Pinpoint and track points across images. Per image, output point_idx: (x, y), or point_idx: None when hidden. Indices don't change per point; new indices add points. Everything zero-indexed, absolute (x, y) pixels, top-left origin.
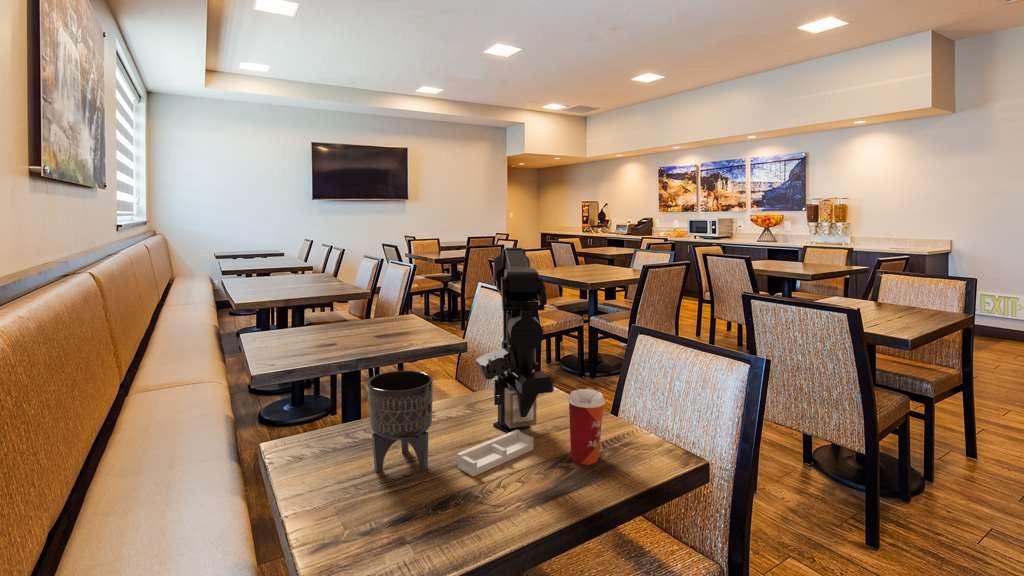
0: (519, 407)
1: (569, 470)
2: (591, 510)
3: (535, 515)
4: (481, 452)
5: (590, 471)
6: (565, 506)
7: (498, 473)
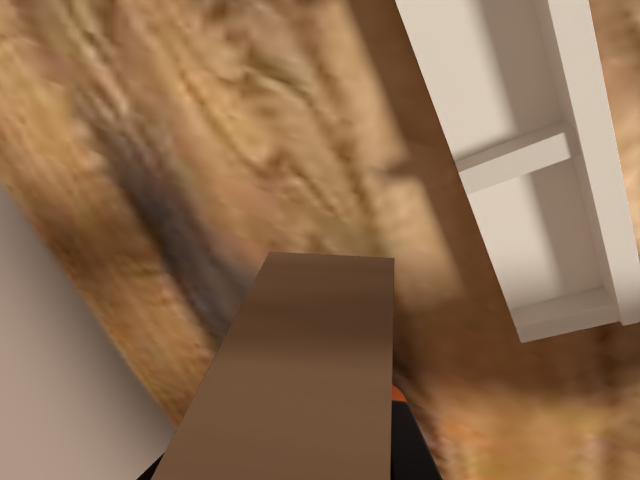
0: None
1: None
2: (81, 289)
3: (49, 132)
4: (549, 57)
5: None
6: (100, 238)
7: (366, 98)
